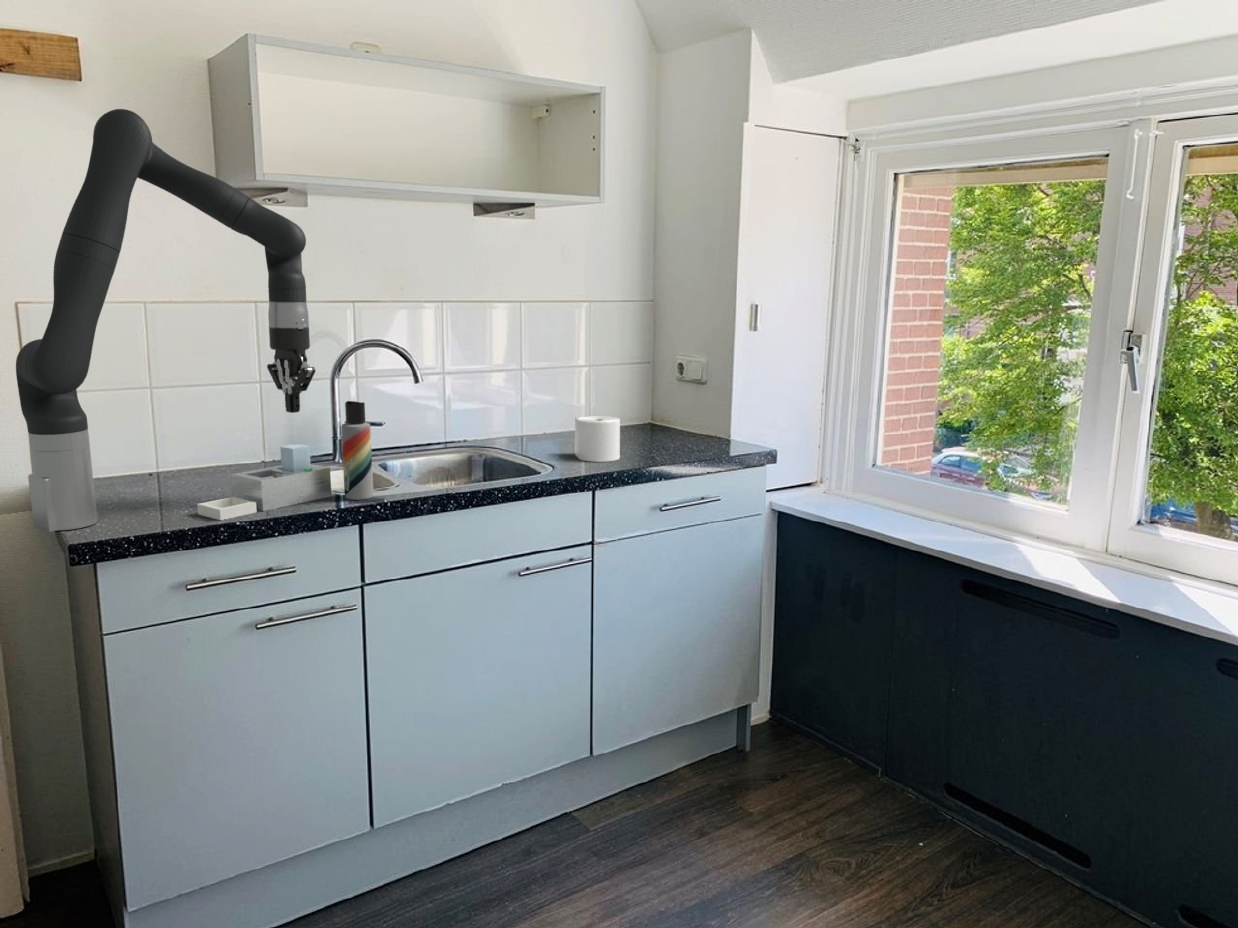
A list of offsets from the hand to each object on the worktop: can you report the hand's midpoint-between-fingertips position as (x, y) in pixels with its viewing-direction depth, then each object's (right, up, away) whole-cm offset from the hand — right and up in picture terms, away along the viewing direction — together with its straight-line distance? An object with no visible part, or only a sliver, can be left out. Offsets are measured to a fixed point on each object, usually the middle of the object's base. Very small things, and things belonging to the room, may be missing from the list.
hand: (293, 412), depth 191 cm
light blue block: (0, -16, +3) cm, 16 cm away
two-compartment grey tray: (-2, -18, +1) cm, 18 cm away
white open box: (-9, -20, -10) cm, 24 cm away
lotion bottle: (+12, -17, +4) cm, 22 cm away
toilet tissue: (+60, -9, +48) cm, 77 cm away
